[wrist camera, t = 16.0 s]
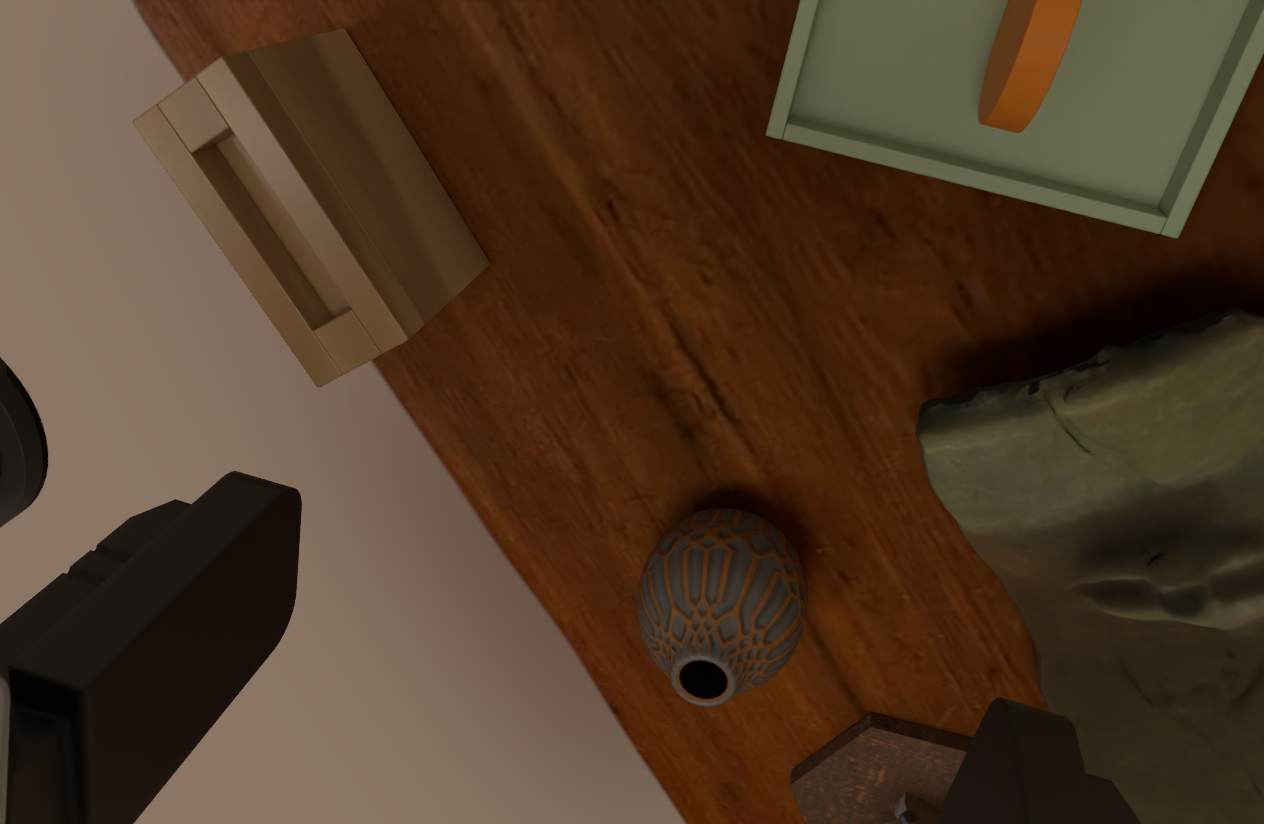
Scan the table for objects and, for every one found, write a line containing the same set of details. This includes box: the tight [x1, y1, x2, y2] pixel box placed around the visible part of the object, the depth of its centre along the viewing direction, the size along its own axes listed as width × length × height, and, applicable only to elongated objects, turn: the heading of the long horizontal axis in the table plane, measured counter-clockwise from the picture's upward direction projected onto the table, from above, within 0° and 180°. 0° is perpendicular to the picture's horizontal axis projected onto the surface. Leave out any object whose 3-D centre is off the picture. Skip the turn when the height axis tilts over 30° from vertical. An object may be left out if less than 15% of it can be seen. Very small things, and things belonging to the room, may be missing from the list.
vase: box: [637, 508, 808, 707], centre depth 42 cm, size 7×7×9 cm
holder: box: [133, 28, 490, 387], centre depth 38 cm, size 4×10×8 cm, turn 31°
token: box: [978, 0, 1082, 133], centre depth 32 cm, size 1×6×6 cm, turn 169°
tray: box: [766, 0, 1264, 238], centre depth 34 cm, size 14×12×2 cm
